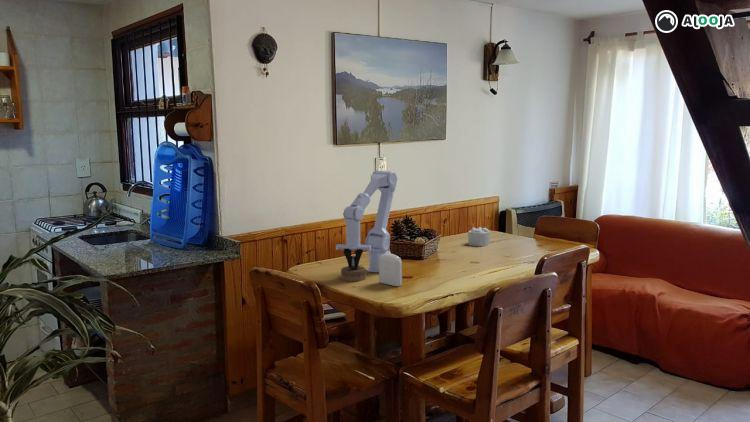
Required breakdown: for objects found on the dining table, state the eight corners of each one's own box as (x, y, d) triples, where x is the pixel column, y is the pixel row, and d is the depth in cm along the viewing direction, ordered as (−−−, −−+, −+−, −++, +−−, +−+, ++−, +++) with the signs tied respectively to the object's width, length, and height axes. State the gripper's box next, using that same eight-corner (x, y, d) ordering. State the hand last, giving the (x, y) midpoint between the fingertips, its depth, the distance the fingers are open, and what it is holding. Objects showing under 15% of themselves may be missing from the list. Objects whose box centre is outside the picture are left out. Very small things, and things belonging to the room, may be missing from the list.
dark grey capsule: (356, 272, 245) (356, 255, 244) (356, 273, 242) (356, 256, 241) (351, 271, 245) (350, 255, 244) (350, 273, 242) (350, 256, 241)
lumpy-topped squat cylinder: (465, 244, 313) (466, 228, 312) (476, 240, 323) (476, 225, 322) (483, 247, 307) (484, 230, 306) (493, 243, 317) (494, 227, 316)
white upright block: (377, 282, 237) (377, 252, 235) (384, 280, 240) (384, 251, 238) (396, 287, 230) (396, 256, 228) (403, 285, 233) (403, 255, 231)
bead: (367, 275, 248) (367, 266, 247) (362, 281, 238) (362, 272, 237) (344, 274, 250) (344, 265, 249) (339, 280, 240) (338, 271, 239)
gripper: (333, 236, 239) (334, 268, 240) (368, 237, 236) (368, 270, 238) (338, 233, 245) (338, 264, 247) (371, 234, 243) (371, 266, 245)
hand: (353, 267), depth 243 cm, fingers closed on dark grey capsule, 2 cm apart
